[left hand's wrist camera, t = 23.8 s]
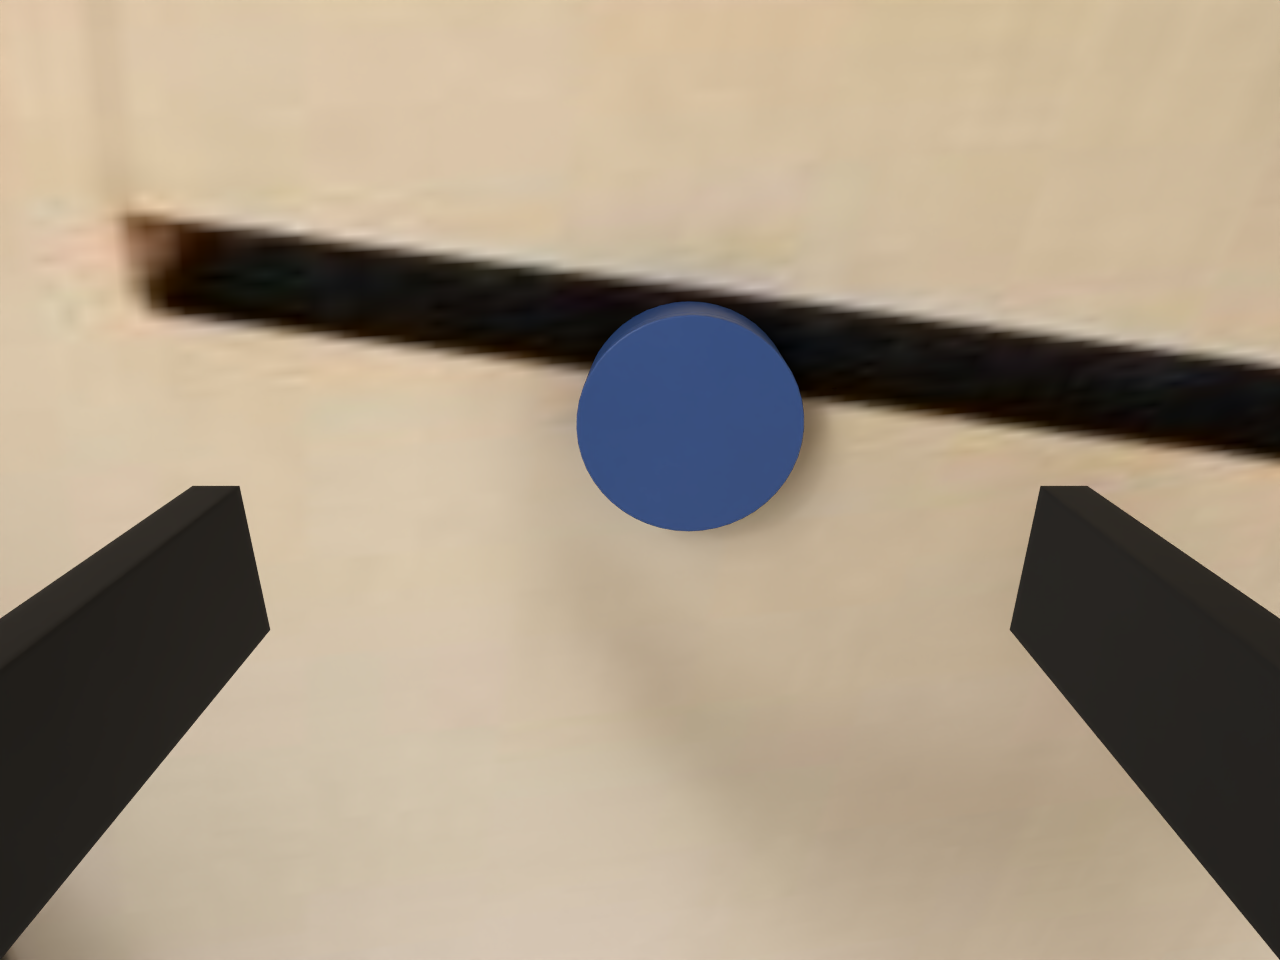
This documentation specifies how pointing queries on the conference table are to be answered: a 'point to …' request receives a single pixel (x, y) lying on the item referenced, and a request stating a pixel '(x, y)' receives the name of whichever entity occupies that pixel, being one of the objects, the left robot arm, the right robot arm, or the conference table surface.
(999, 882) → the conference table surface
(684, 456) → the lid
